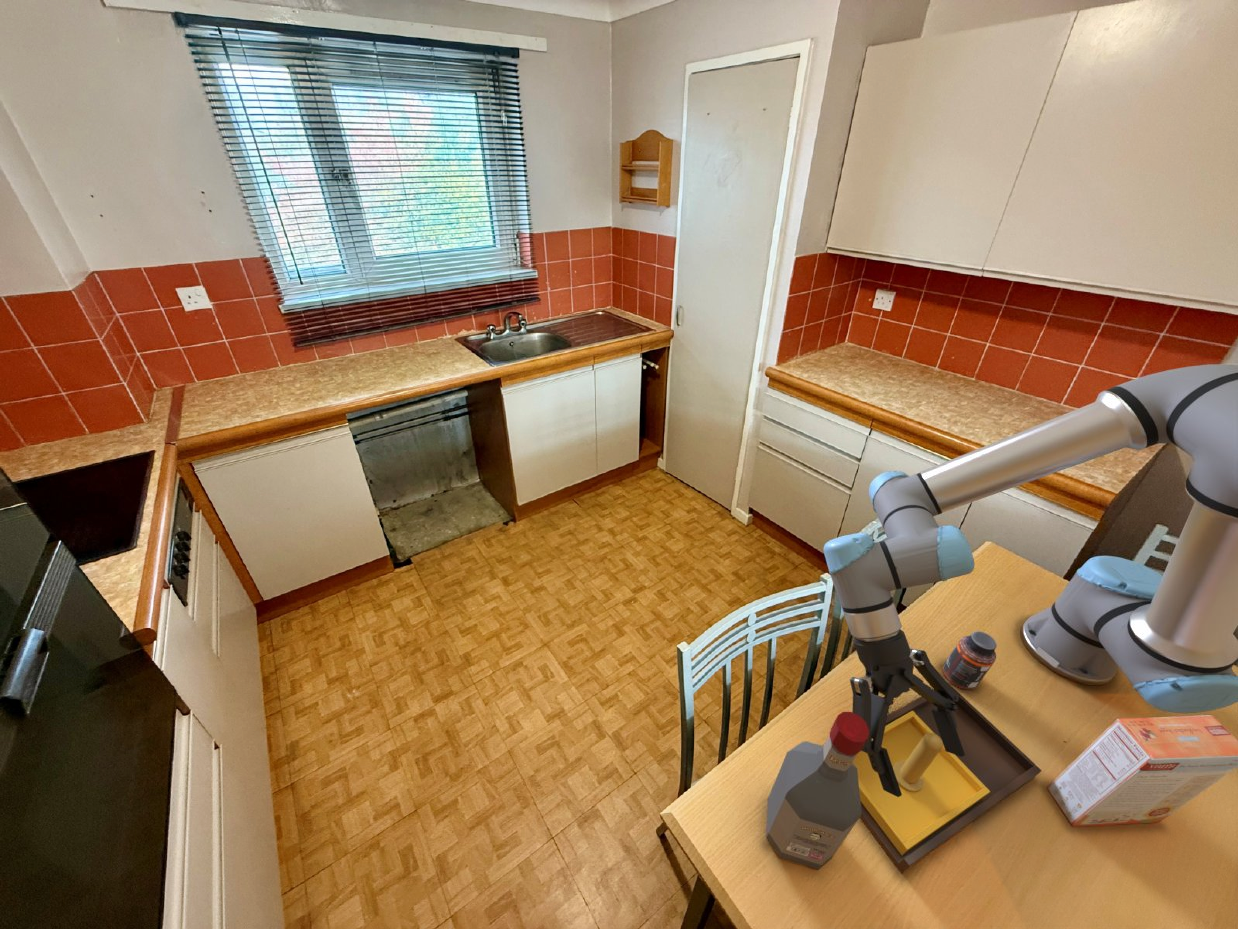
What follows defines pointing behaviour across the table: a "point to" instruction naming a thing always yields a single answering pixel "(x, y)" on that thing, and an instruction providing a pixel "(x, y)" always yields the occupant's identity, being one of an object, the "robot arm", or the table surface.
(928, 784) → the tray
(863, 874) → the table surface
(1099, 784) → the cracker box
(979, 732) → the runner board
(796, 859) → the liquor
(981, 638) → the supplement bottle
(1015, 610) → the table surface
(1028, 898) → the table surface
